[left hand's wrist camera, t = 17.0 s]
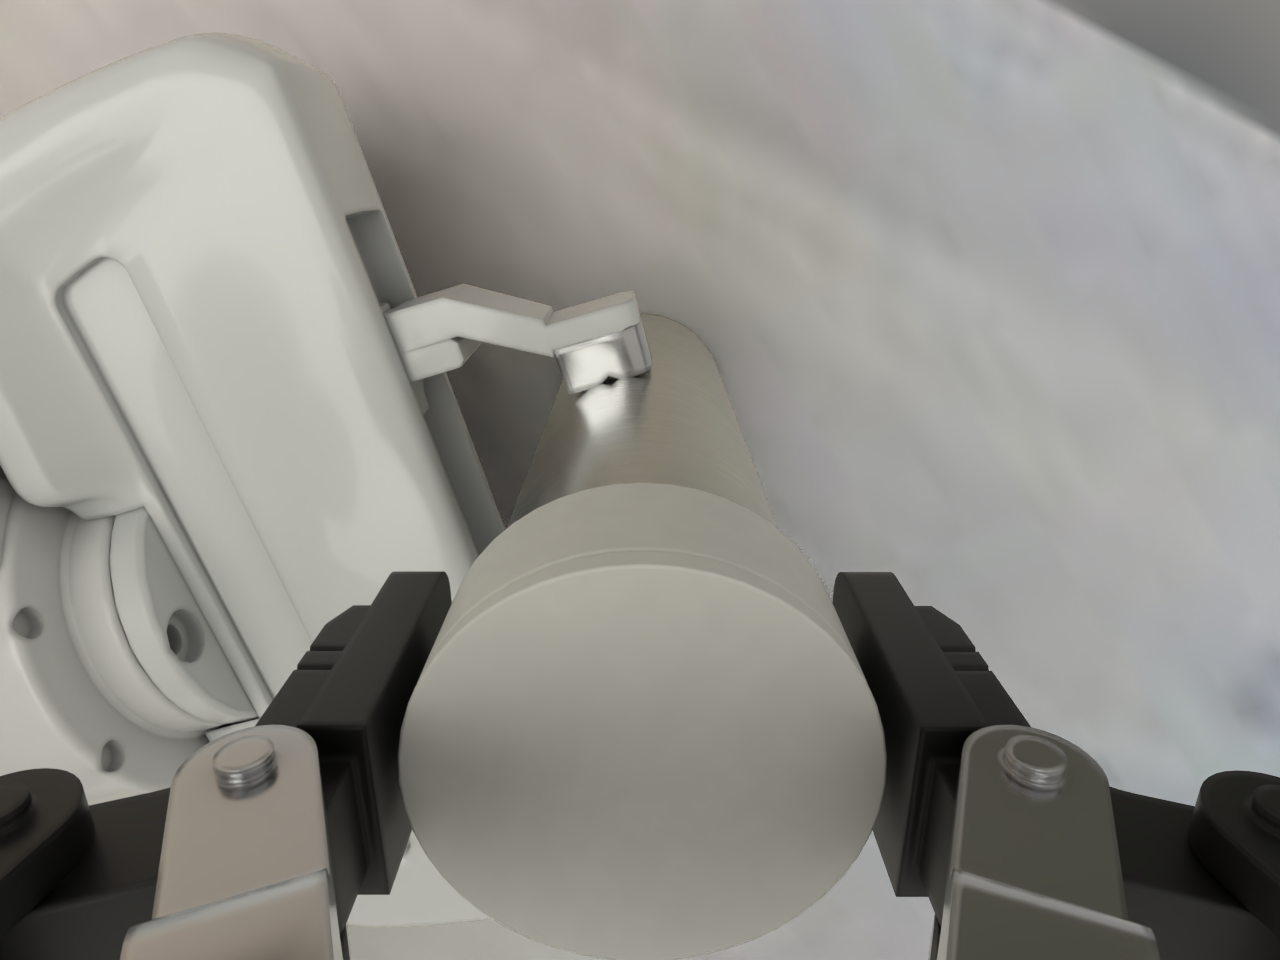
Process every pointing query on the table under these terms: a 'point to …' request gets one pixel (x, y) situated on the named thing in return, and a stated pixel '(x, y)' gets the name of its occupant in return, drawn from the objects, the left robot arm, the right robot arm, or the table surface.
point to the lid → (642, 729)
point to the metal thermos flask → (647, 431)
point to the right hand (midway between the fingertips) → (681, 459)
